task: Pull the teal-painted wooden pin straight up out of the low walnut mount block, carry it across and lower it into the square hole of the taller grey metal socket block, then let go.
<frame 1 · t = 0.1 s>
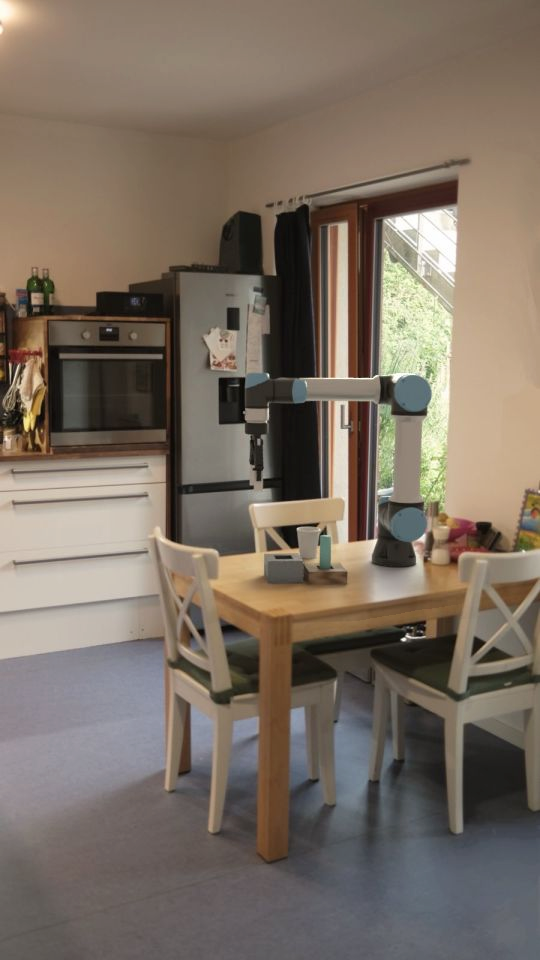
hand: (256, 488, 312), 28 cm above the table, fingers open, 13 cm apart
pin: (325, 558, 308), in the mount
socket: (283, 578, 309), on the table
dixie cup: (308, 557, 342), on the table
mount: (324, 579, 309), on the table
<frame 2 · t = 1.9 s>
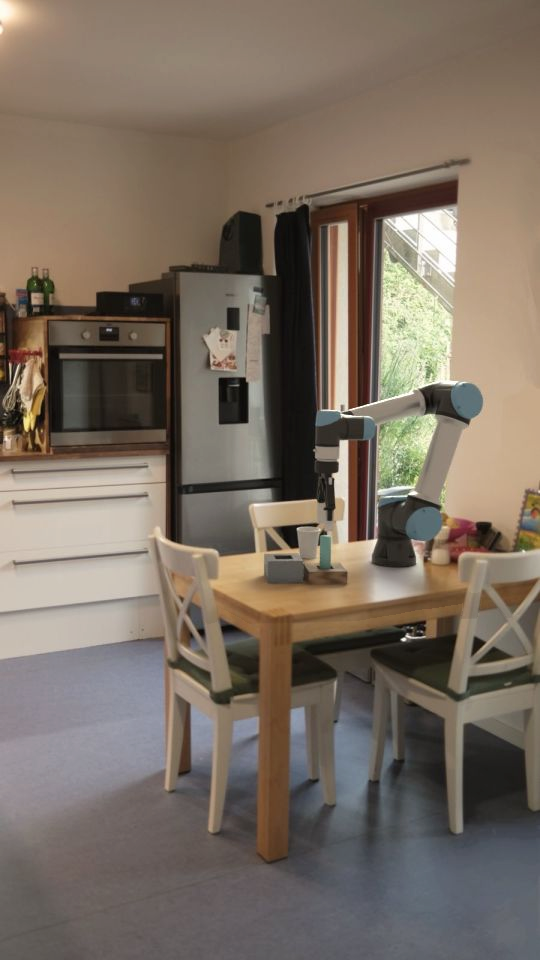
hand: (324, 527, 306), 17 cm above the table, fingers open, 13 cm apart
nothing on the table moved.
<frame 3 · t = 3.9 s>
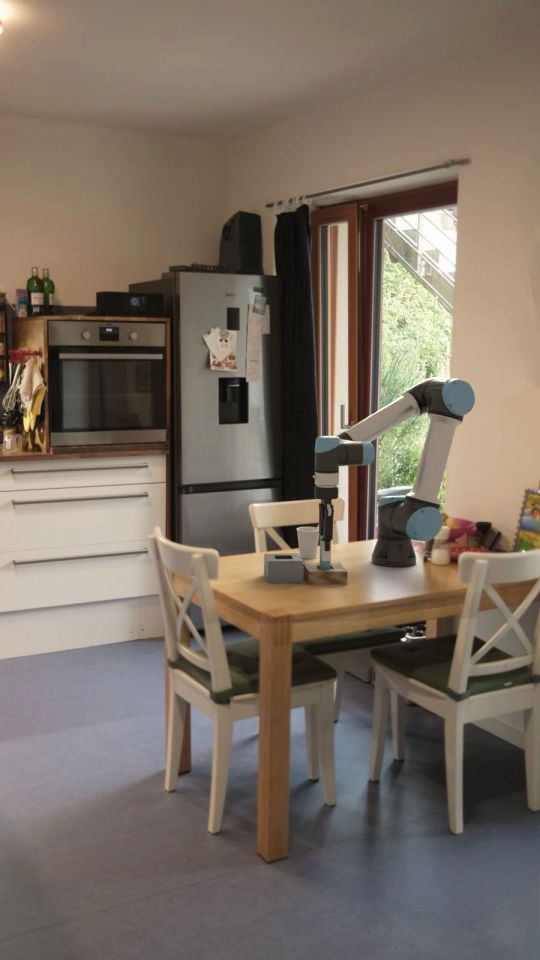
hand: (325, 559, 308), 7 cm above the table, fingers closed on pin, 3 cm apart
pin: (325, 558, 308), in the mount, touching gripper
everything else where it was.
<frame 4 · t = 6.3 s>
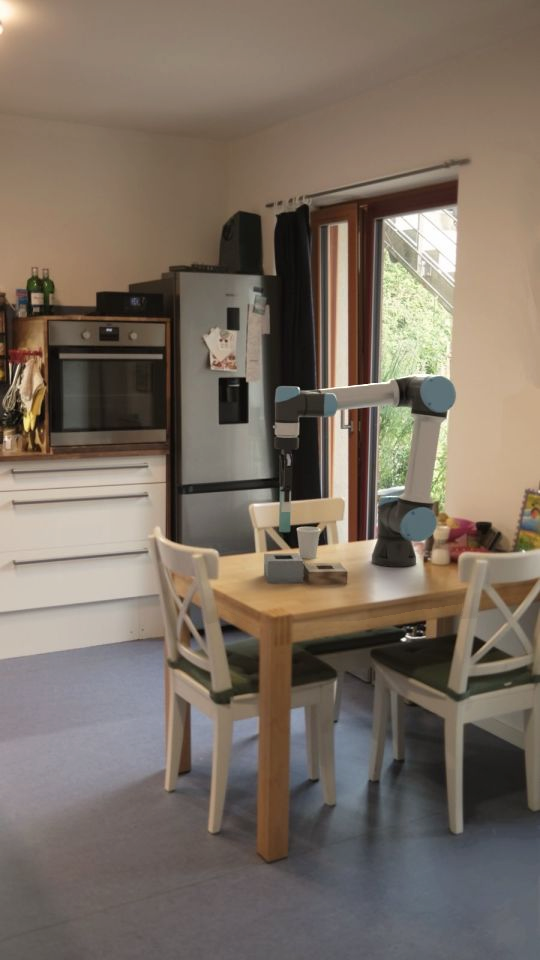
hand: (285, 510, 306), 22 cm above the table, fingers closed on pin, 3 cm apart
pin: (285, 509, 306), point 22 cm above the table, touching gripper
everything else where it was.
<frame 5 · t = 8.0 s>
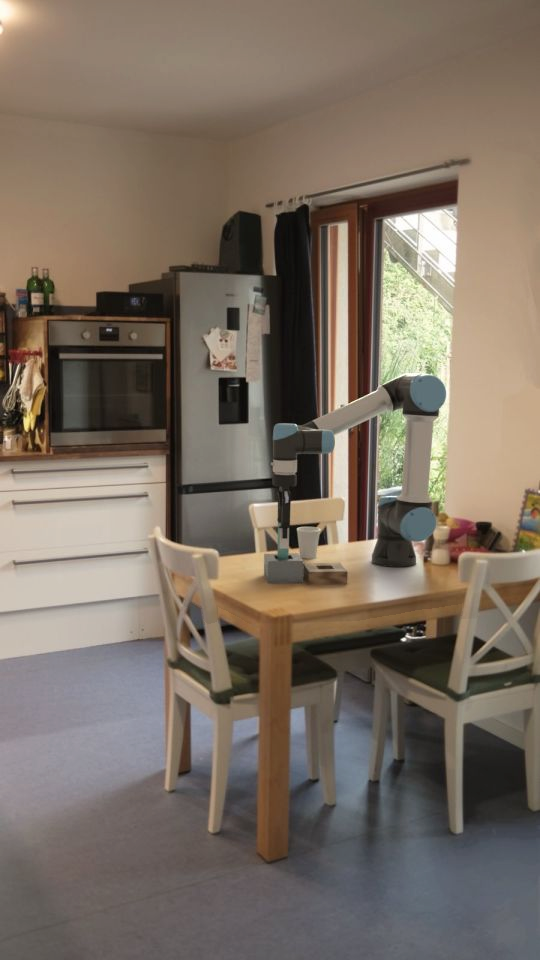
hand: (283, 546, 308), 10 cm above the table, fingers closed on pin, 3 cm apart
pin: (283, 545, 308), point 11 cm above the table, touching gripper
everything else where it was.
when the fingers open (8 cm above the table, at t = 9.0 s): pin drops 1 cm, resting in socket.
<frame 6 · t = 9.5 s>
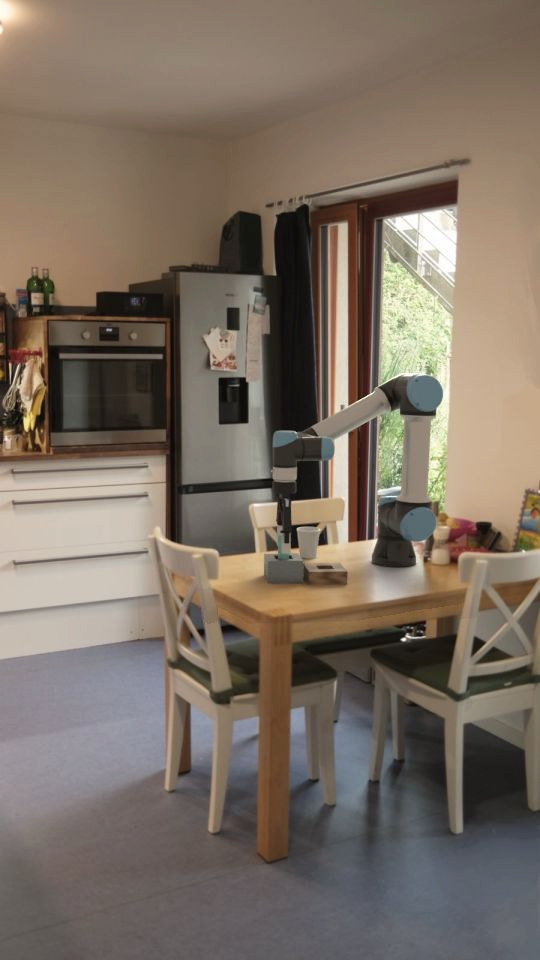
hand: (283, 549, 308), 9 cm above the table, fingers open, 11 cm apart
pin: (283, 557, 308), in the socket
everything else where it was.
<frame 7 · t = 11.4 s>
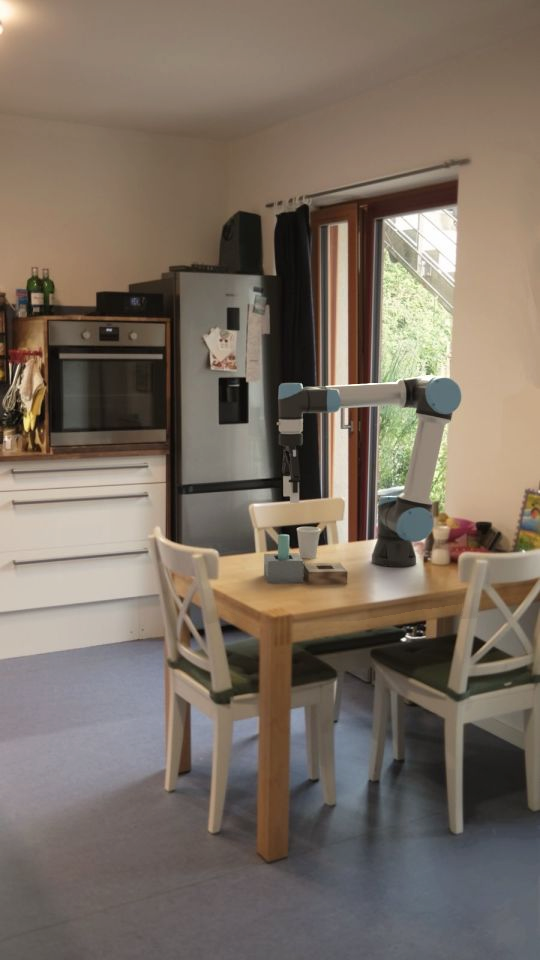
hand: (291, 499, 309), 25 cm above the table, fingers open, 13 cm apart
nothing on the table moved.
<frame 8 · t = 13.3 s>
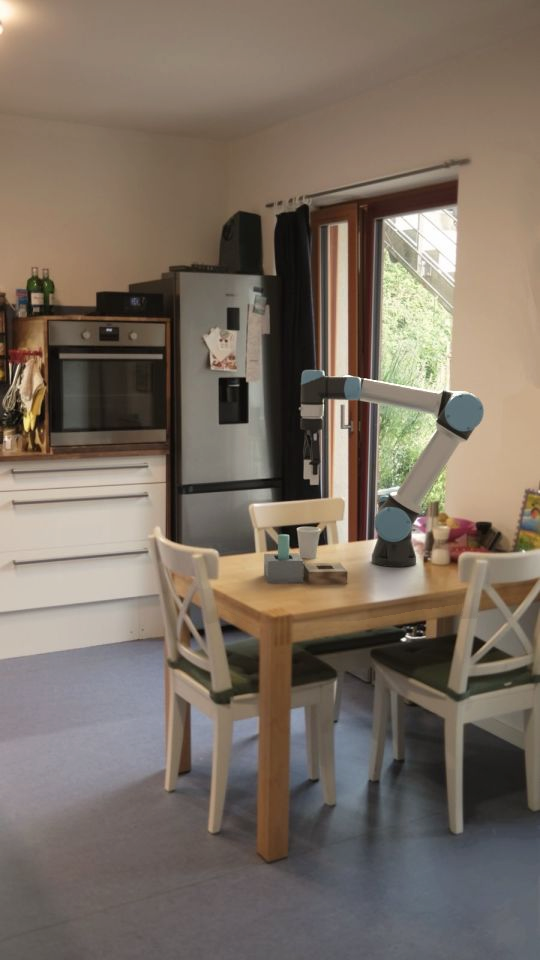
hand: (310, 481, 322), 29 cm above the table, fingers open, 13 cm apart
nothing on the table moved.
at the end: pin 0.0 cm off-centre on the socket, point 7.0 cm above the socket's base; pin tilted 0°; the gripper is holding nothing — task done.
